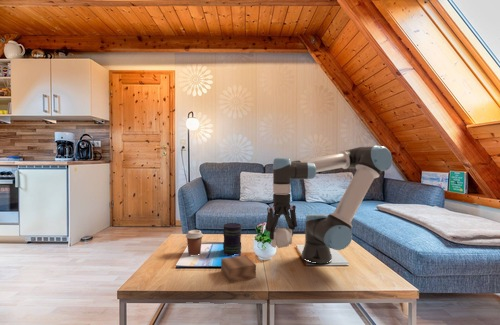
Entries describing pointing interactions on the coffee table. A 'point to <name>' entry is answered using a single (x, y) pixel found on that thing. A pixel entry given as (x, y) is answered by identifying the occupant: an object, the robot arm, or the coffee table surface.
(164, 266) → the coffee table surface
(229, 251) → the storage jar
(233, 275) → the walnut block
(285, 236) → the die
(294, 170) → the robot arm
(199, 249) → the coffee cup
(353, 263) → the coffee table surface
